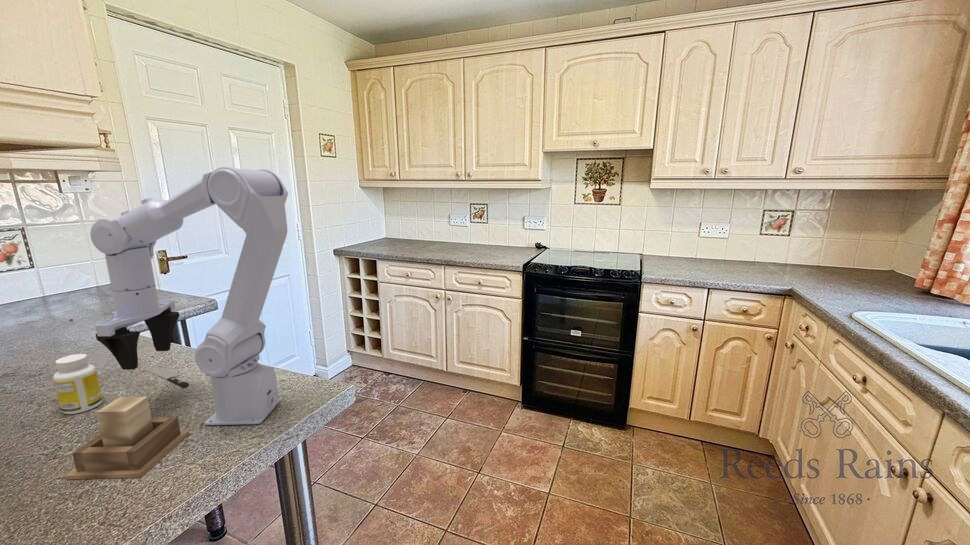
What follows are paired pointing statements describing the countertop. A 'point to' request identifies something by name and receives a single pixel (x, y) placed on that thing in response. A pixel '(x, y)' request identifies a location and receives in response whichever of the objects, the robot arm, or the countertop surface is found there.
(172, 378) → the chef's knife
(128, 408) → the peg
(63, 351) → the countertop surface
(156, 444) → the wooden peg socket
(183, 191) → the robot arm
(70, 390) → the supplement bottle
